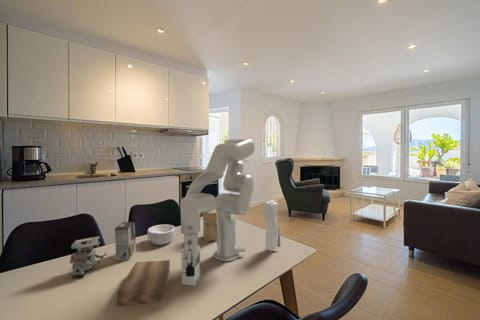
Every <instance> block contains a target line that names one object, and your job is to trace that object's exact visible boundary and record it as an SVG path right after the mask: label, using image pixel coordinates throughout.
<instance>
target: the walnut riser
mask: <svg viewBox="0 0 480 320" xmlns="http://www.w3.org/2000/svg"><path fill="white" fill-rule="evenodd" d="M170 262H171V261H170V259H168V260H167V259H165V260H164V259H162V260H150V261H149V260H148V261H136V262H135V264H134V265H133V267H132V268H131V269H130V271H129V273H128V274H127V276H126V277H125V279H124V280H123V281H122V284H120V287H119V288H118V290H117V292H116V293H117V306H126V305H128V306H131V305H139V304H150V303H160V302H161V299H162V296H163V293H164V290H165V287H166V284H167V282H168V281H167V280H168V277H169V275H170V271H171V269H170V268H171V267H170V266H171V265H170Z"/></svg>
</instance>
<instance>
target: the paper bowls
mask: <svg viewBox="0 0 480 320" xmlns="http://www.w3.org/2000/svg"><path fill="white" fill-rule="evenodd" d="M175 237H176V227H175V225H172V224H157V225H152V226H151V227H149V228H147V240H148V241H150V242H151V243H152V244H154V245H157V246H162V245H166V244H169V243H170V242H171V241H172V239H174V238H175Z"/></svg>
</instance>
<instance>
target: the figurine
mask: <svg viewBox="0 0 480 320" xmlns="http://www.w3.org/2000/svg"><path fill="white" fill-rule="evenodd" d="M100 243H101V237H100V236H98V235H97V236H94V237H93V236H92V237H88V238H83V239H76V240H74V241H73V243H72V244H71V247H70V248H71V250H73V249H76V250H77V251H76V252H74V253H72V254H71V255H70V261H69V263H70V264H72V267H71V269H72V275H71V276H72V277H71V278H72V279H78V278H79V279H82V278H84V277H85V276H86V275H85V271H89V270H91V269H93V267H95V266H96V265H97V264H99V265H100V264H101V260H103V259H104V257H105V256H107V255H108V254H107V252H105V253H104V254H103V255H100V254H96V253H97V251H96V249H95V248H98V247H99V246H100ZM95 259H99V260H98V261H97V262H95ZM100 259H101V260H100Z"/></svg>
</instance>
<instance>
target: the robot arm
mask: <svg viewBox="0 0 480 320" xmlns="http://www.w3.org/2000/svg"><path fill="white" fill-rule="evenodd" d="M255 149H256V148H255V143H254V141H253V140H252V139H250V138H249V139H248V138H242V139H241V138H233V139H227V140H226V141H224V143H219V144H216V146H215V147H214V149H213V151H212V154H211V156H210V158H209V162H208V164H207V166H206V168H205V170H204V171H202V172H201V173H199V174H198V176H196V177H195V179H194V180H192V182H191V183H190V184H189V187H188V189H187V192H186V195H185V197H182V198H181V200H180V233H181V234H182V235H183V248H184V255H185V259H186V277H189V276H194V259H197V257H198V245H199V235H198V234H199V233H200V232H201V214H203V213H206V212H210V211H212V210H214V209H215V208H216V214H217V241H216V250H215V251H214V253H213V257H214V259H216V260H218V261H220V262H232V261H234V260H237V259H238V258H239V257H240V253H245V252H246V247H242V246H237V242H236V241H237V238H236V237H237V232H236V231H237V221H236V217H235V216H245V215H247V213H248V212H249V208H250V204H251V202H252V201H251V200H252V196H253V190H254V187H255V186H254V179H253V177H252V176H251V175H250V174H245V173H243V172H244V163H243V160H245V159H248V158H250V157H251V156H252V155H253V153H254V152H255ZM224 174H225V175H224ZM223 177H224V178H223ZM222 178H223V182H222V183H223V184H222V186H223V187H222V188H223V189H224V190H225V191H227V192H230V193H225V192H222V193H219V194H217V196H216V197H215V196H214V195H213V194H210V193H203V192H201V191H202V190H203V189H204V188H205V187H206V186H207V185H208V184H211V183H213V182H216V181H218V180H221V179H222ZM234 193H238V194H234ZM191 256H193V258H191ZM191 260H192V262H191Z"/></svg>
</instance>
